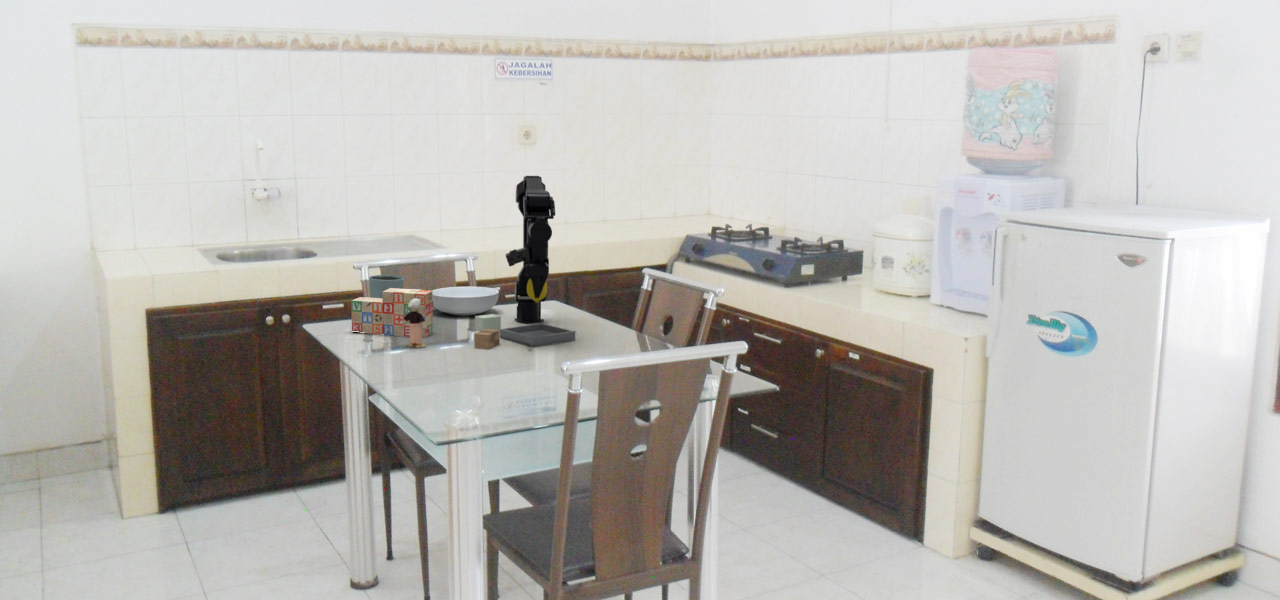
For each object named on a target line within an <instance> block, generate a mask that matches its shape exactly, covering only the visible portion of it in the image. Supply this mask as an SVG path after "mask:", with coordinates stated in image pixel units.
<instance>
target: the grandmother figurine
mask: <svg viewBox="0 0 1280 600" xmlns="http://www.w3.org/2000/svg"><path fill="white" fill-rule="evenodd" d="M420 304H421V301H420V300H419V299H417V298H415V299H412V300H411V301H410V302H409V305H408V307H409V308H411V310H412V311H413V312H409V313H408V314H407V315H406V316H405V317H404V321H403V325H406V324H407V321H409V323H410V332H409V335H410V337H409V344H408V347H409V348H410V347H411V348H414V347H415V348H417V349H420V348H421V349H422V348H426V344H425V343H423V339H422V338H423V337H422V335H421V324H422V328H423V329H426V324H425V320H424V318H423V316H422V314H421V313H419V312H418V311H419V310H420Z"/></svg>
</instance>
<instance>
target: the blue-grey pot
mask: <svg viewBox="0 0 1280 600" xmlns="http://www.w3.org/2000/svg"><path fill="white" fill-rule="evenodd" d="M368 281H369V282H368V283H369V298H383V291H385V290H387V289H390V288H397V289H404V285H405V284H404V283H405V277H404V276H402V275H396V274H377V275H376V274H375V275H371V276H369V277H368Z"/></svg>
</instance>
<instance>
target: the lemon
mask: <svg viewBox="0 0 1280 600" xmlns="http://www.w3.org/2000/svg"><path fill="white" fill-rule="evenodd" d="M547 293H548V283H547V281H546V282H545V284H544V287H543V289H542V292H541V294H540V297H539V298H535V295H534V290H533V285H532V280H531V279H529V280H528V283H527V294H528V296H529V297H530V298H531V299H532V300H534V301H535V302H536V303H538V302H539V301H540V300H542V299H543V298H544V297H545V296H546V297H547Z"/></svg>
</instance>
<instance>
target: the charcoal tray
mask: <svg viewBox="0 0 1280 600" xmlns="http://www.w3.org/2000/svg"><path fill="white" fill-rule="evenodd" d="M501 339H502V340H506V341H508V342H512V343H517V344H520V345H524V346H526V347H527V346H528V347H531V348H536V347H541V346H548V345H549V346H550V345H554V344H555V345H556V344H561V343H560V342H562V343H567V342H566V341H568V342H573V341H572V340H574V341H576V331H575V330H571V329H567V328H564V327H560V326H555V325H551V324H548V323H541V322H540V323H539V322H538V323H531V324H527V325H520V326H519V325H518V326H513V327H512V326H511V327H506V328H501V329H500V340H501Z"/></svg>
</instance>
